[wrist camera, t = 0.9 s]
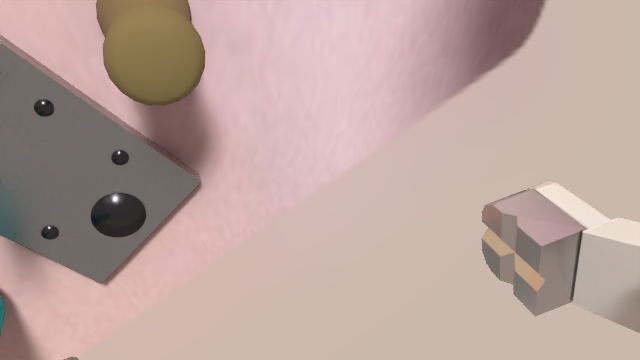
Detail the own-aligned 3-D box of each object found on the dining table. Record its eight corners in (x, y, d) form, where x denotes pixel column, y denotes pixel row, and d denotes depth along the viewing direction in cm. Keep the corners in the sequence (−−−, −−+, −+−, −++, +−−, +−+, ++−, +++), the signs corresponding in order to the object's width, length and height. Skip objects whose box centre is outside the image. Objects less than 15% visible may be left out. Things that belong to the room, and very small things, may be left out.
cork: (205, 36, 38) (236, 92, 29) (126, 72, 38) (132, 140, 29) (165, -49, 35) (186, -15, 26) (77, -12, 34) (67, 37, 25)
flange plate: (-24, 18, 33) (-28, 23, 32) (198, 174, 44) (201, 182, 43) (-139, 155, 35) (-146, 164, 34) (101, 274, 45) (101, 284, 44)
